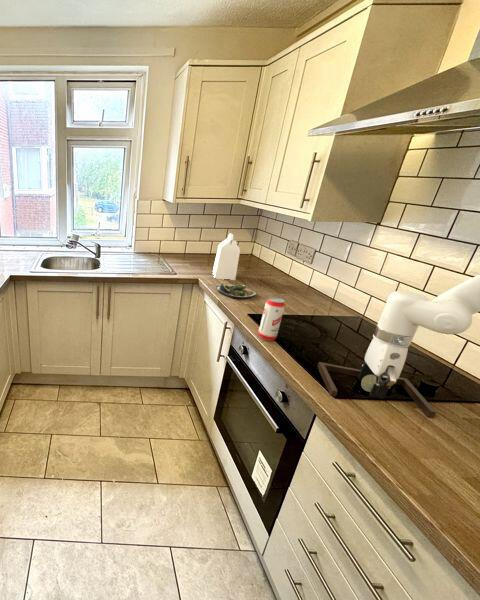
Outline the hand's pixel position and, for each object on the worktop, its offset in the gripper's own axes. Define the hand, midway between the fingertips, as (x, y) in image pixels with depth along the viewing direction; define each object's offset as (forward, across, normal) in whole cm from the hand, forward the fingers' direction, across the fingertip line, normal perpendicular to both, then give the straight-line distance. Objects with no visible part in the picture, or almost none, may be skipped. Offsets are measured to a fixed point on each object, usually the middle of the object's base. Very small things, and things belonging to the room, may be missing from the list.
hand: (370, 387), depth 93 cm
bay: (+1, 0, 0) cm, 1 cm away
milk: (+1, +101, +40) cm, 109 cm away
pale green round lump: (+1, 0, 0) cm, 1 cm away
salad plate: (+1, +72, +35) cm, 80 cm away
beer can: (+1, +24, +24) cm, 34 cm away
